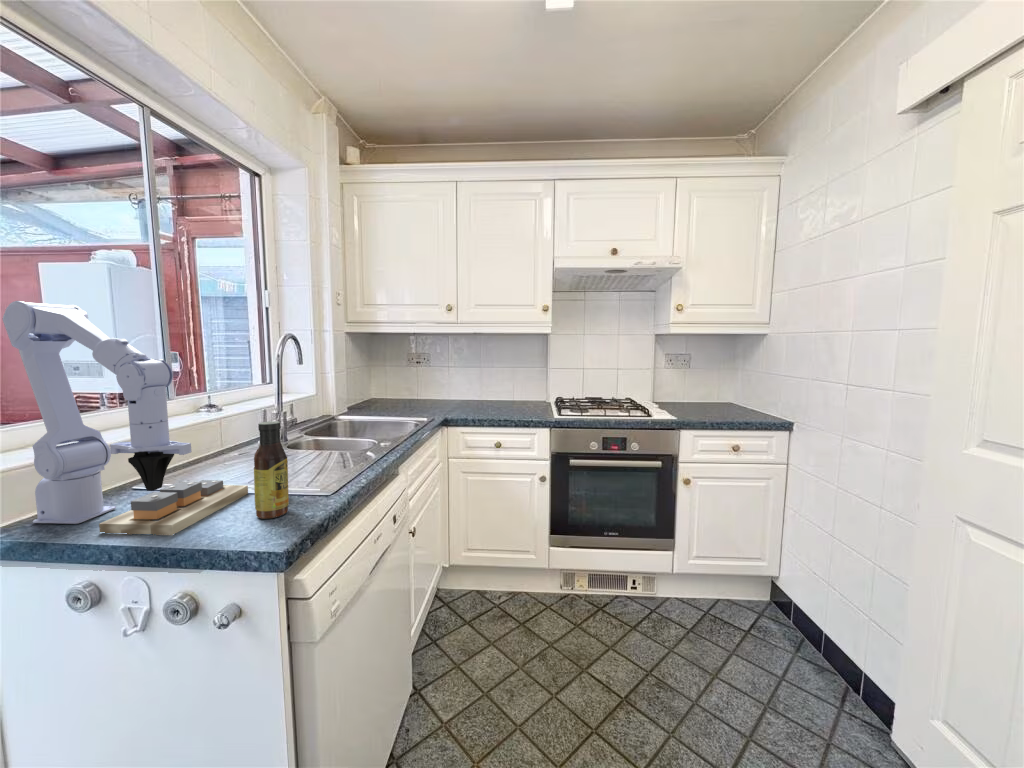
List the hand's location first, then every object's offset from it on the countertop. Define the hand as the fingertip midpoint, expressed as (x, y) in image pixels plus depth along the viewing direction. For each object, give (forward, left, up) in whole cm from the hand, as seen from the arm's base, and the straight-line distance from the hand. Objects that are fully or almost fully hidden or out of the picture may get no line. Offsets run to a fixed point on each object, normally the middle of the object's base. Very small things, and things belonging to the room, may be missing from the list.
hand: (154, 489), depth 82 cm
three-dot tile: (0, +13, -7) cm, 15 cm away
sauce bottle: (+20, +6, -8) cm, 22 cm away
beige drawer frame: (0, +7, -7) cm, 10 cm away
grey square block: (0, 0, -5) cm, 5 cm away
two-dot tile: (0, +7, -5) cm, 8 cm away
